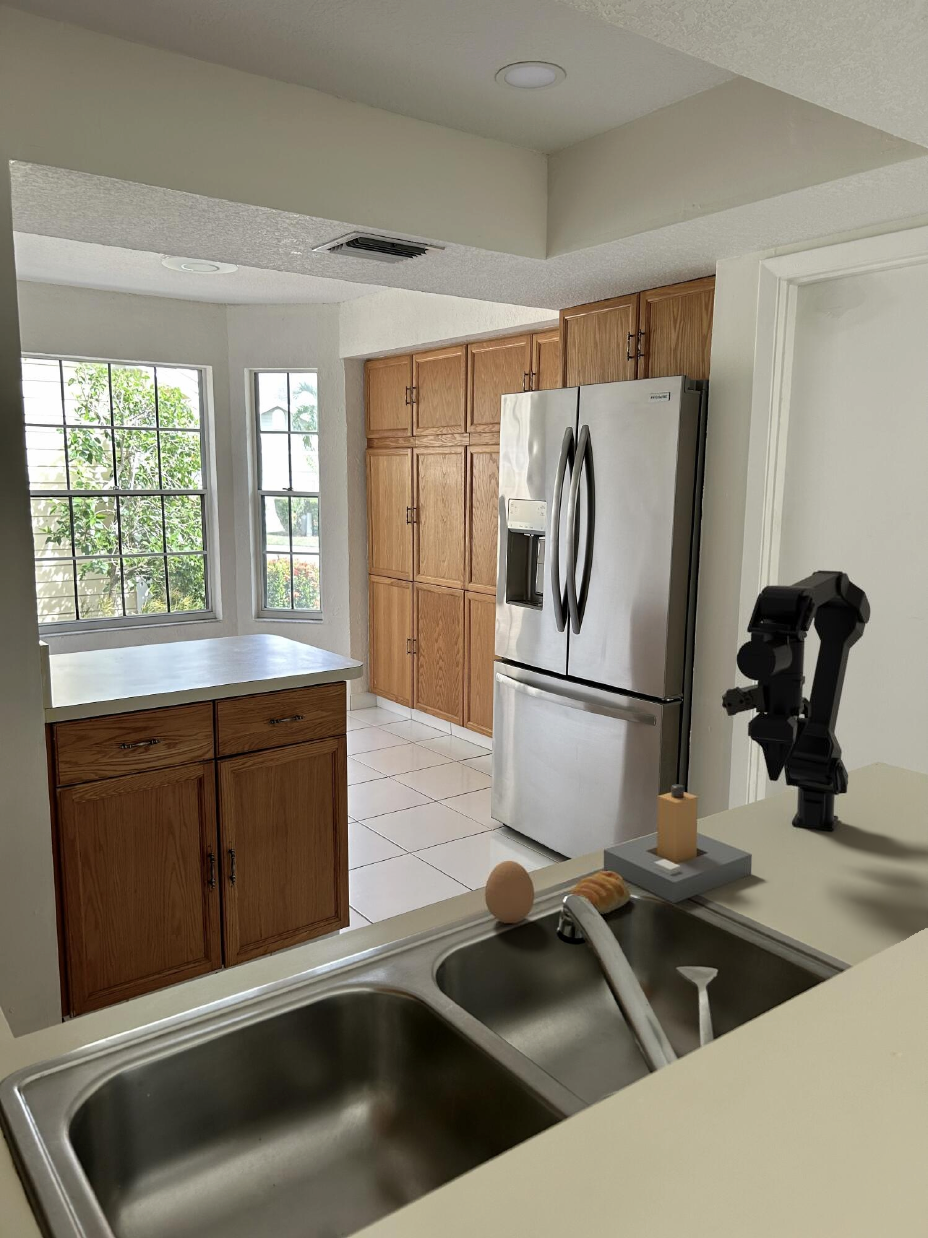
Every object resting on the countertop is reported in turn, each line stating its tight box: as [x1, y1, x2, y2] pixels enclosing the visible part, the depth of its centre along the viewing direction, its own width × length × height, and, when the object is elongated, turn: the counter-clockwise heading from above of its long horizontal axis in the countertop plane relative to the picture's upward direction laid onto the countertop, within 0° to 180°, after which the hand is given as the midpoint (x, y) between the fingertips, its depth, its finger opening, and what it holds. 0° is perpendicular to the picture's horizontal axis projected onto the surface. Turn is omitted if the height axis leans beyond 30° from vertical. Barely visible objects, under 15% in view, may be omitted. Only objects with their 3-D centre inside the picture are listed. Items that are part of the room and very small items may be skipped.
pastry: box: [568, 870, 632, 915], centre depth 123 cm, size 9×7×4 cm
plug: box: [656, 783, 698, 864], centre depth 133 cm, size 4×4×13 cm
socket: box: [603, 832, 753, 904], centre depth 133 cm, size 16×14×4 cm
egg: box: [484, 860, 535, 924], centre depth 119 cm, size 6×6×8 cm
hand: (778, 772), depth 137 cm, fingers open, 9 cm apart
